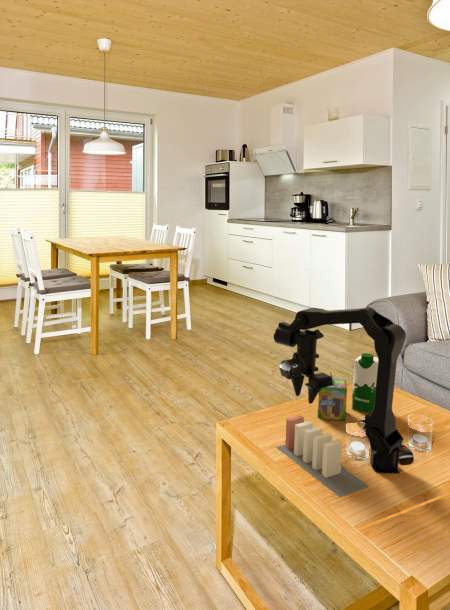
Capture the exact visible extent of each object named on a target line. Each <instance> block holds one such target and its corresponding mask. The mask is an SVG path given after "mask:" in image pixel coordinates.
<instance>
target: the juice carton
mask: <svg viewBox="0 0 450 610" xmlns="http://www.w3.org/2000/svg"><path fill="white" fill-rule="evenodd" d="M329 376H331V377H332V378H333V376H332V371H329ZM347 394H348V386H347V380H346V379H340V378H339V379H338V378H333V382H332V386H328V387H323V388H321V390H320V391H319V393H318V403H317V419H323V420H328V421H329V420H330V421H331V420H333V421H341V422H346V418H347V396H348V395H347Z"/></svg>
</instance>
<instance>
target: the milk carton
mask: <svg viewBox="0 0 450 610" xmlns="http://www.w3.org/2000/svg"><path fill="white" fill-rule="evenodd" d="M353 365H354V366H353V380H352V396H351V398H352V400H351V409H352V410H354V411H359V412H364V413H366V414H368V413H369V412H371V411H372V410H373V409H374V401H375V390H376V380H377V369H378V356H377V357H376V356H374V355H373V353H367V352H365V353H362V354H361V355H359V356H358V357H357V358H356V359H354V364H353Z"/></svg>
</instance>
